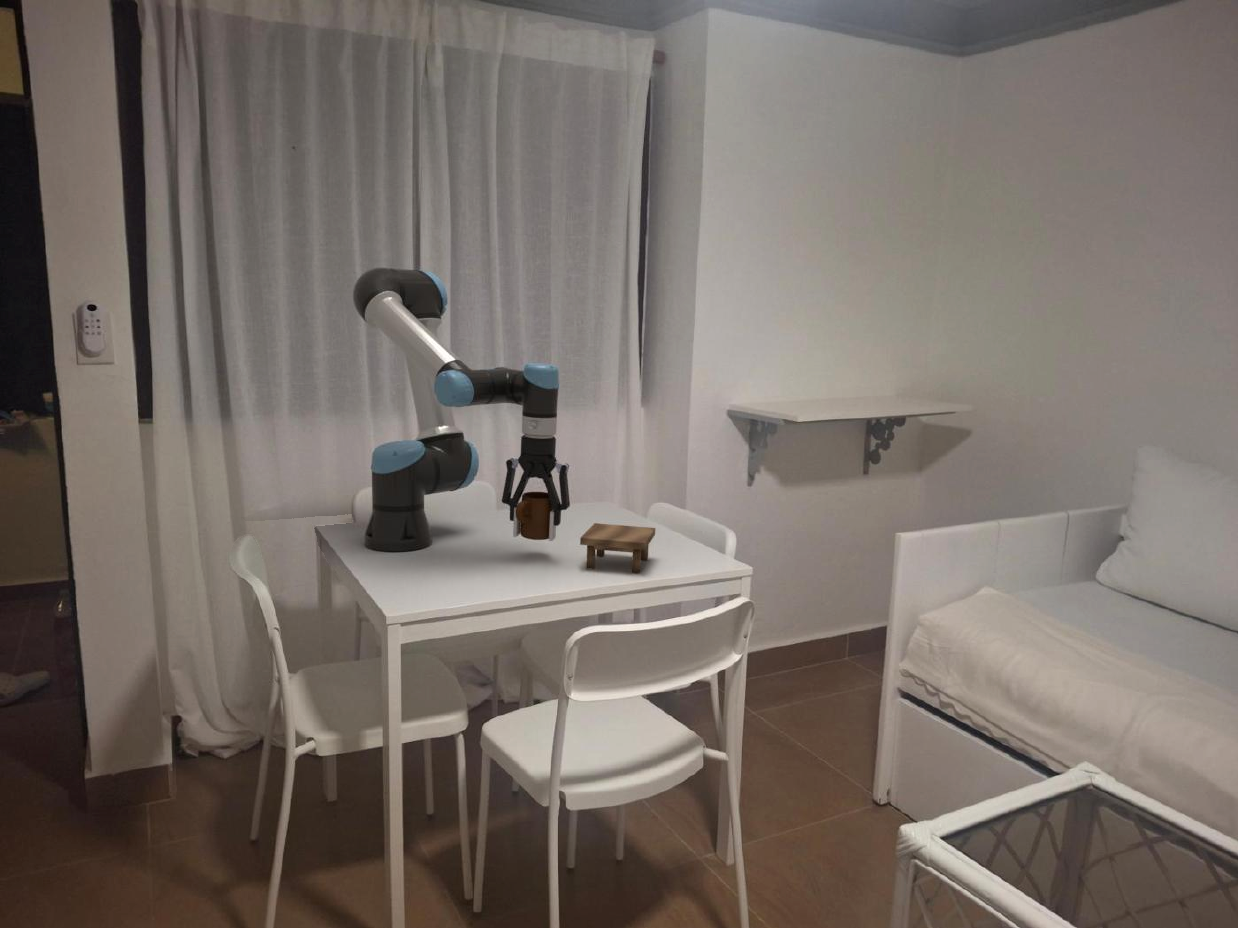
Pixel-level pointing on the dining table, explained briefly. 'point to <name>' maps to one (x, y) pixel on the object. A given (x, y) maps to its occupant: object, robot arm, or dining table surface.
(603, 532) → the stool
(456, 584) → the dining table surface
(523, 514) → the mug
